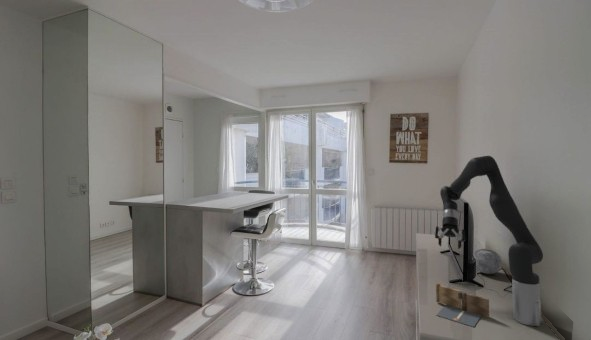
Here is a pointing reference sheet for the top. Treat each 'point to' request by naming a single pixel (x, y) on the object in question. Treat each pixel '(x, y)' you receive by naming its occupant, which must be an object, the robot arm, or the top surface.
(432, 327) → the top surface
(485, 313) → the fence fixed
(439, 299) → the fence gate
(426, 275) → the top surface
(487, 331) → the top surface
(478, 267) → the decorative orb
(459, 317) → the board
